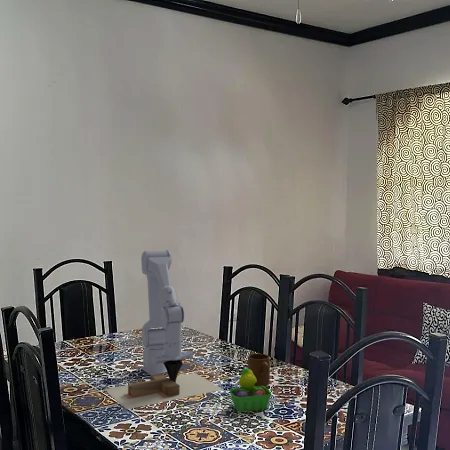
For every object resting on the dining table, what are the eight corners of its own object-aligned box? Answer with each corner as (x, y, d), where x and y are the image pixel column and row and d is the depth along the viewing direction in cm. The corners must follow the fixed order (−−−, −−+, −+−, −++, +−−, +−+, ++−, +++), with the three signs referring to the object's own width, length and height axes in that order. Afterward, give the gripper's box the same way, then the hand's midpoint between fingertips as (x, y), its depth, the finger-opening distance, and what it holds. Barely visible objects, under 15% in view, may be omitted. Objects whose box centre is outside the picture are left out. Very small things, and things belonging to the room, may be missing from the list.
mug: (277, 390, 188) (278, 362, 187) (256, 392, 185) (256, 364, 185) (265, 379, 199) (265, 352, 199) (244, 380, 197) (244, 354, 196)
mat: (104, 390, 187) (104, 389, 187) (194, 374, 205) (194, 372, 205) (126, 410, 170) (126, 409, 170) (223, 390, 188) (223, 389, 188)
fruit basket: (235, 414, 167) (236, 376, 167) (227, 403, 176) (227, 367, 175) (272, 410, 170) (272, 373, 170) (262, 400, 179) (262, 365, 178)
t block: (122, 389, 188) (122, 380, 188) (160, 382, 195) (160, 373, 195) (139, 402, 176) (139, 393, 176) (179, 394, 183) (179, 385, 183)
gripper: (157, 347, 181) (157, 389, 182) (197, 341, 189) (197, 381, 190) (148, 342, 187) (148, 383, 188) (187, 337, 195) (187, 376, 196)
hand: (172, 382), depth 189 cm, fingers closed
